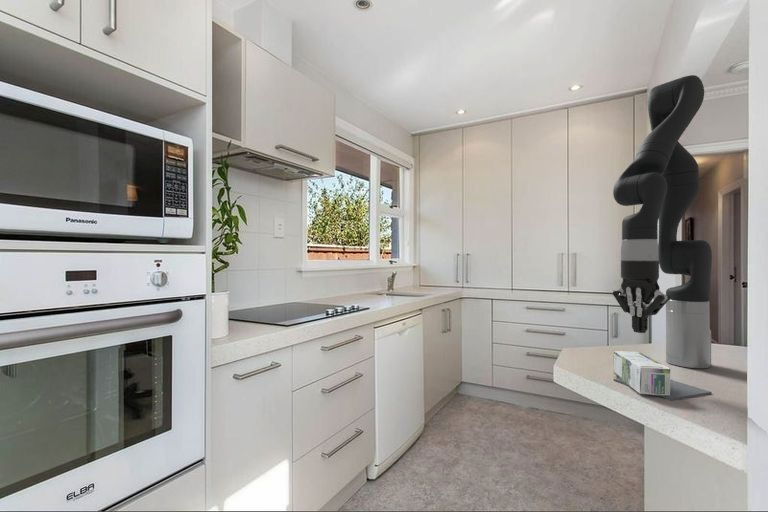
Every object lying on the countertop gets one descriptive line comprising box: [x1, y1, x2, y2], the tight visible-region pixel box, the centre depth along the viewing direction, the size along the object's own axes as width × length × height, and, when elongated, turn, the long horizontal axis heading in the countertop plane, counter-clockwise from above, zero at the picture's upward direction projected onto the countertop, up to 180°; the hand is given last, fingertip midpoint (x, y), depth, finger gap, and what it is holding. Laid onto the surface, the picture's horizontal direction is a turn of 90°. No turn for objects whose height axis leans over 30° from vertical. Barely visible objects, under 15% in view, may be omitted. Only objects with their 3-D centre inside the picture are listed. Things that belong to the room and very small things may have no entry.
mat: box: [613, 377, 712, 401], centre depth 84 cm, size 12×13×1 cm
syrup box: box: [612, 350, 671, 396], centre depth 85 cm, size 6×6×14 cm
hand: (639, 332), depth 90 cm, fingers closed
